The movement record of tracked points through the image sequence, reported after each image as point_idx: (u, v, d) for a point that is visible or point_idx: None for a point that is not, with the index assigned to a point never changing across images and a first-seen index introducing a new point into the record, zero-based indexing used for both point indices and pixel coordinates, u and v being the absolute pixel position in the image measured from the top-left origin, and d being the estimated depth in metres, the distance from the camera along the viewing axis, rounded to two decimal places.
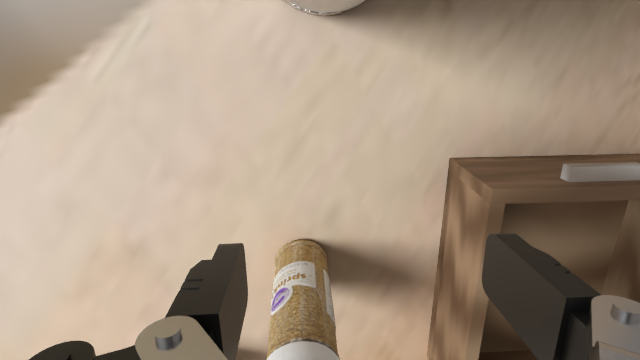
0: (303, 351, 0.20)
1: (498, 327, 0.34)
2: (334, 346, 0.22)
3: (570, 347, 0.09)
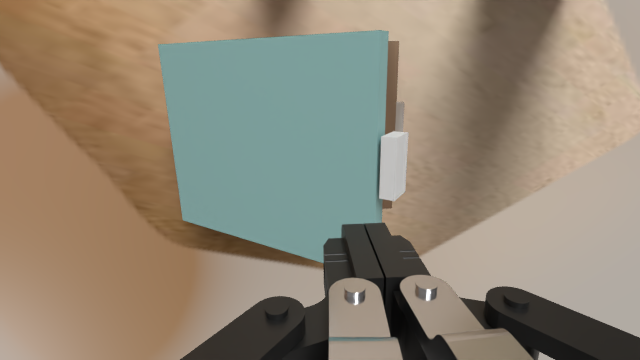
0: None
1: None
2: None
3: (393, 322, 0.10)
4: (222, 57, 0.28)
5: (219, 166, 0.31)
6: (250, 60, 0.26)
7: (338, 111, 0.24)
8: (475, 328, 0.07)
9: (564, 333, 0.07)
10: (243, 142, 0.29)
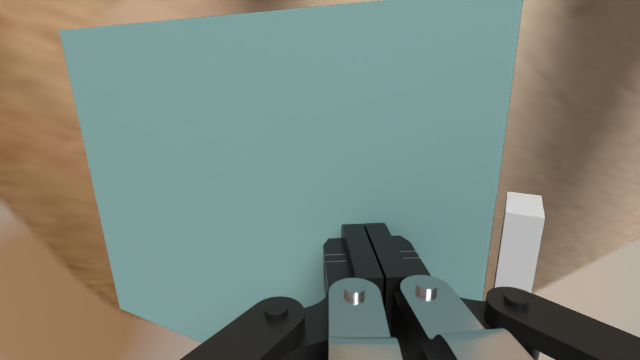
0: None
1: None
2: None
3: (393, 322, 0.10)
4: (171, 51, 0.15)
5: (173, 236, 0.18)
6: (224, 57, 0.14)
7: (407, 157, 0.12)
8: (475, 328, 0.07)
9: (564, 333, 0.07)
10: (214, 200, 0.16)
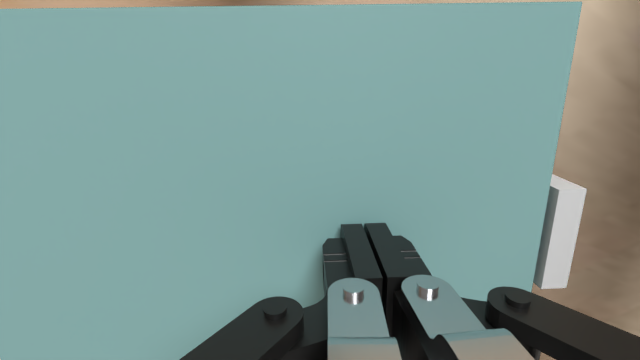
0: None
1: None
2: None
3: (394, 322, 0.10)
4: (161, 50, 0.11)
5: (153, 305, 0.13)
6: (257, 58, 0.11)
7: (478, 155, 0.12)
8: (477, 328, 0.07)
9: (566, 333, 0.07)
10: (232, 241, 0.13)
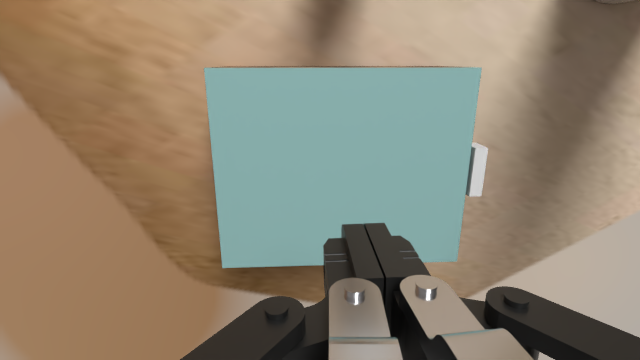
0: None
1: None
2: None
3: (393, 322, 0.10)
4: (309, 84, 0.27)
5: (290, 197, 0.29)
6: (347, 88, 0.27)
7: (438, 131, 0.28)
8: (475, 328, 0.07)
9: (564, 333, 0.07)
10: (328, 168, 0.29)
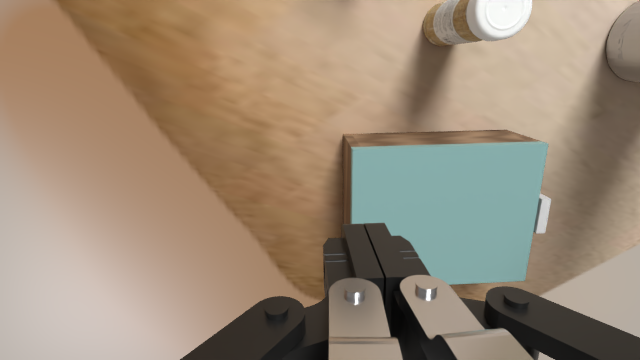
0: None
1: None
2: None
3: (393, 322, 0.10)
4: (425, 158, 0.37)
5: (405, 237, 0.40)
6: (451, 160, 0.38)
7: (515, 188, 0.39)
8: (475, 328, 0.07)
9: (564, 333, 0.07)
10: (434, 215, 0.39)
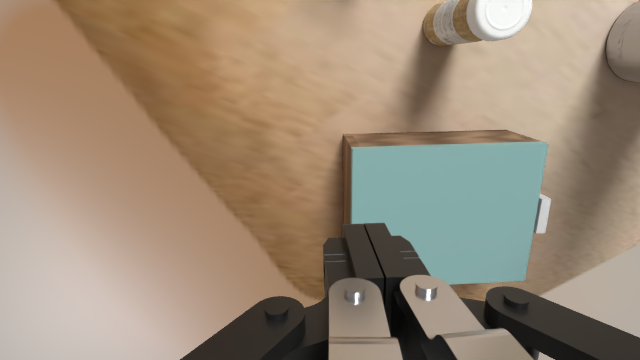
0: None
1: None
2: None
3: (393, 322, 0.10)
4: (425, 158, 0.37)
5: (405, 237, 0.40)
6: (451, 160, 0.38)
7: (515, 188, 0.39)
8: (475, 328, 0.07)
9: (564, 333, 0.07)
10: (434, 215, 0.39)
